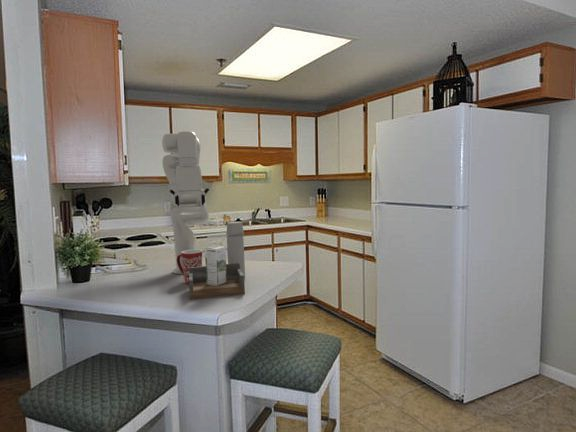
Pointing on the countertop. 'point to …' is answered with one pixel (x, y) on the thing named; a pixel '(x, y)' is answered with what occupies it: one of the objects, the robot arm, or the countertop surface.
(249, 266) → the countertop surface
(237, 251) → the water bottle
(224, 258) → the syrup box
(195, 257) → the mug
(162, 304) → the countertop surface
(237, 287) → the shelf
